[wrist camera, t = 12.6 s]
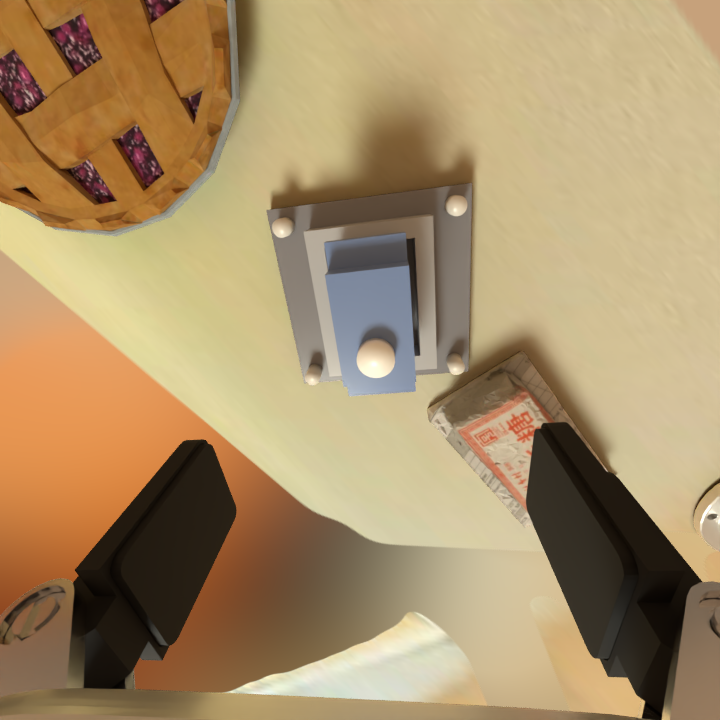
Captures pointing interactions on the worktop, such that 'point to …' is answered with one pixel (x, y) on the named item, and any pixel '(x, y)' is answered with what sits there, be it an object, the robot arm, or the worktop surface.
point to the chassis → (426, 268)
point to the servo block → (372, 313)
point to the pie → (113, 107)
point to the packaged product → (501, 426)
